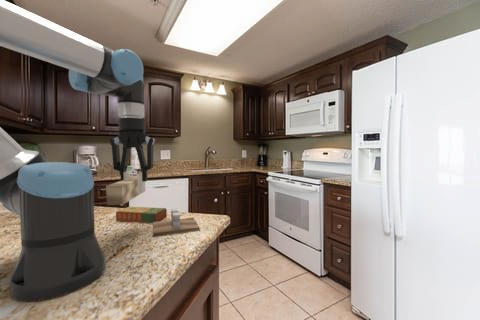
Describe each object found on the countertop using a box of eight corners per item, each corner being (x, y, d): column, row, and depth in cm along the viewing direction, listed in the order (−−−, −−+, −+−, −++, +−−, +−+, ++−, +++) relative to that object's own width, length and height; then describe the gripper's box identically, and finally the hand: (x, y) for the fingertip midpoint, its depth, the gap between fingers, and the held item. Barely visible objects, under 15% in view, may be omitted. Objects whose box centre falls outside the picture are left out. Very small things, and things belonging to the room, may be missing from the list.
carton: (130, 216, 92) (129, 205, 92) (167, 218, 89) (167, 207, 89) (115, 222, 84) (115, 211, 84) (156, 224, 81) (156, 212, 81)
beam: (122, 204, 60) (122, 185, 59) (106, 205, 59) (106, 186, 59) (145, 190, 78) (144, 176, 77) (133, 191, 77) (132, 176, 77)
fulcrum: (199, 230, 74) (199, 214, 74) (153, 236, 69) (153, 219, 69) (193, 220, 85) (193, 205, 85) (153, 224, 80) (152, 209, 80)
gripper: (162, 119, 76) (164, 188, 78) (109, 119, 75) (112, 190, 76) (156, 116, 69) (158, 193, 70) (97, 116, 68) (100, 194, 69)
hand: (134, 191), depth 73 cm, fingers closed on beam, 4 cm apart
